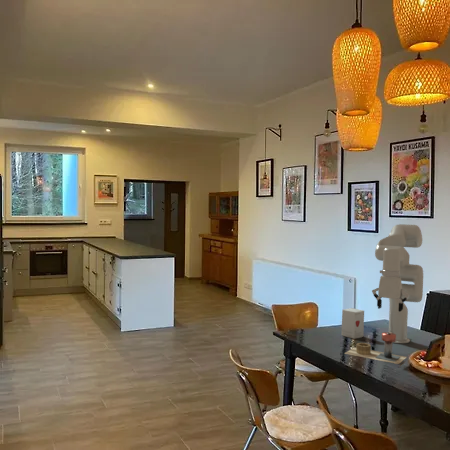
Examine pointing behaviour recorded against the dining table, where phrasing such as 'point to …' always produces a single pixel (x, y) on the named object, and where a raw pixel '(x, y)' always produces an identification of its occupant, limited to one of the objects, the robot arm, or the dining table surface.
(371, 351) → the board
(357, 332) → the supplement box
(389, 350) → the peg
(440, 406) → the dining table surface
